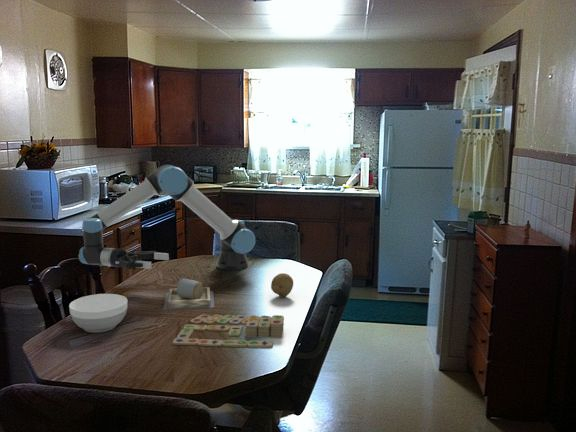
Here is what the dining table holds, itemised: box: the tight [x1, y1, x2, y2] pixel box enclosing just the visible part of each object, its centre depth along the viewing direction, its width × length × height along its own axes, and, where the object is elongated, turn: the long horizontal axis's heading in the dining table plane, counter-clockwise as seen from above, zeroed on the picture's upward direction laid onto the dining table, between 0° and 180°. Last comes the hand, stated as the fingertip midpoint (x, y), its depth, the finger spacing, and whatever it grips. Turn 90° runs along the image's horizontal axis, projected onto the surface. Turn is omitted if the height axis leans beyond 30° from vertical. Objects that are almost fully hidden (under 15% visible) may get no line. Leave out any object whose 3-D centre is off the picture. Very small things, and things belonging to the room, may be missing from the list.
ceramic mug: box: [176, 277, 203, 300], centre depth 209 cm, size 11×8×8 cm
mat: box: [163, 290, 215, 311], centre depth 208 cm, size 19×20×1 cm
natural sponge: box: [270, 272, 294, 298], centre depth 212 cm, size 9×9×10 cm
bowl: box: [68, 293, 128, 333], centre depth 180 cm, size 19×19×9 cm
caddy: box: [168, 286, 211, 308], centre depth 208 cm, size 16×16×2 cm
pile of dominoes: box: [172, 314, 285, 349], centre depth 178 cm, size 35×27×6 cm
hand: (160, 261), depth 212 cm, fingers open, 13 cm apart
